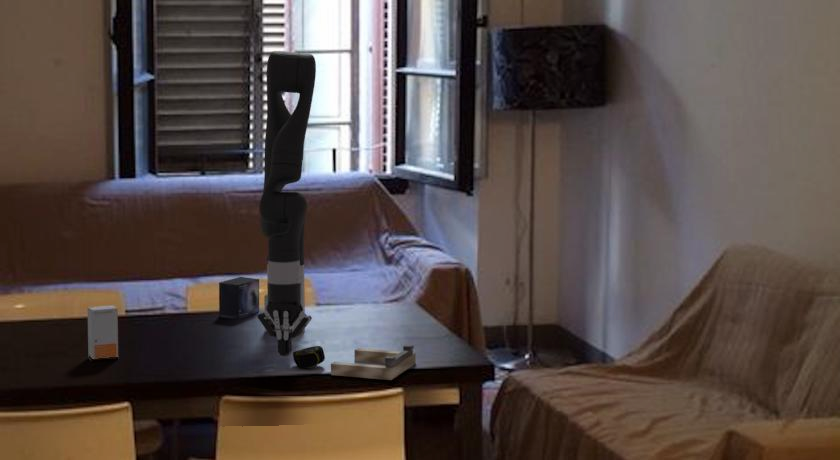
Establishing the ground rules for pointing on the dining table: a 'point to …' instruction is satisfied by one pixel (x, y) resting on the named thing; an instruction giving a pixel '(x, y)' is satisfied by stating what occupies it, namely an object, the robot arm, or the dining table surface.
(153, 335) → the dining table surface
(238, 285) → the small box
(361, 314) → the dining table surface
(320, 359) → the tape measure
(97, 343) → the skincare box
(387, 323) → the dining table surface
